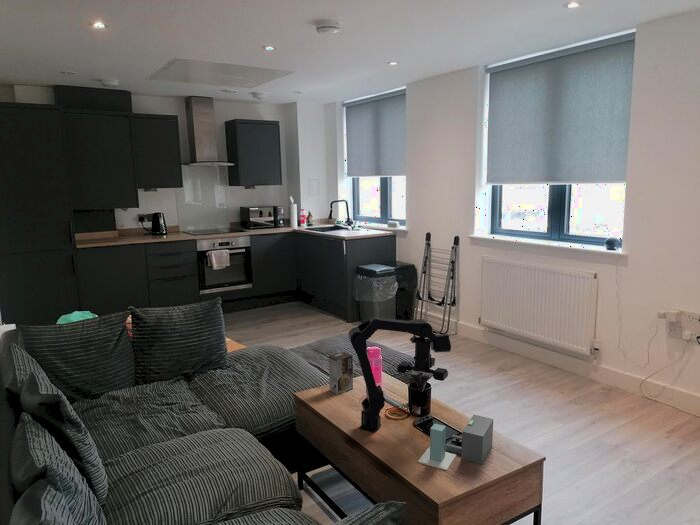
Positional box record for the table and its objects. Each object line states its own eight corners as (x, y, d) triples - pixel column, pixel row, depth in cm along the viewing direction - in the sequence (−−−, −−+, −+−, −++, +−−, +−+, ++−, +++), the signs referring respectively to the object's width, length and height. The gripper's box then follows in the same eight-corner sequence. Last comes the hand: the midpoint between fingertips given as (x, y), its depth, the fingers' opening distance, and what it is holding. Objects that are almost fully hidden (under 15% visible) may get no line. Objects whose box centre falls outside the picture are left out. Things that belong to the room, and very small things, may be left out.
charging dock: (442, 454, 170) (443, 425, 169) (455, 436, 182) (456, 409, 181) (482, 464, 164) (483, 435, 162) (492, 445, 176) (493, 417, 174)
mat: (418, 462, 165) (418, 461, 165) (428, 448, 174) (428, 447, 174) (446, 470, 160) (447, 469, 160) (456, 456, 169) (456, 454, 169)
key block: (429, 459, 166) (430, 428, 165) (433, 453, 170) (434, 423, 168) (441, 462, 164) (442, 431, 163) (445, 456, 168) (445, 426, 166)
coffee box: (344, 384, 230) (344, 351, 227) (353, 389, 225) (353, 355, 222) (328, 390, 224) (328, 355, 221) (337, 394, 219) (337, 359, 216)
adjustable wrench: (414, 413, 202) (414, 409, 201) (401, 417, 198) (401, 413, 198) (379, 391, 223) (379, 387, 223) (367, 394, 220) (367, 390, 219)
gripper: (453, 350, 190) (452, 389, 192) (408, 343, 199) (407, 380, 201) (443, 359, 180) (442, 400, 183) (396, 351, 189) (396, 390, 192)
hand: (421, 391), depth 190 cm, fingers closed
